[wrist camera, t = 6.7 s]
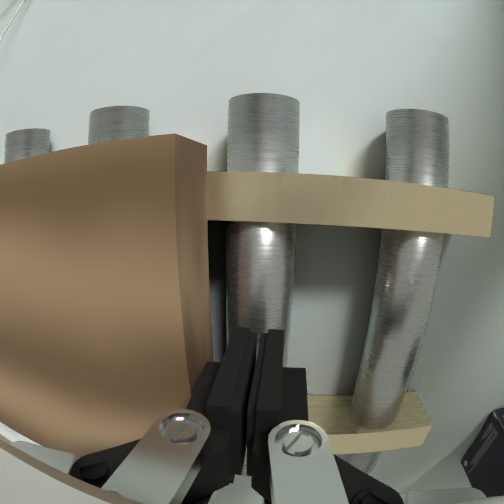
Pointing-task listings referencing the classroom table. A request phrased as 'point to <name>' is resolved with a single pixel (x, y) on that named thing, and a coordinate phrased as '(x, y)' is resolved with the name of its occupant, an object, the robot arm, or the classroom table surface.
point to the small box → (487, 457)
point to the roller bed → (327, 213)
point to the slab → (102, 289)
